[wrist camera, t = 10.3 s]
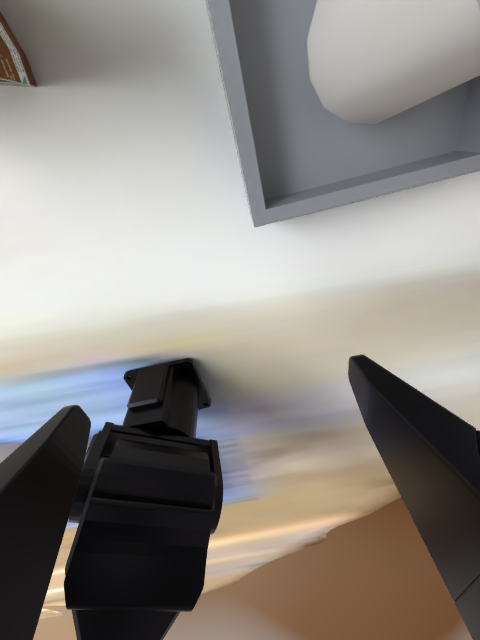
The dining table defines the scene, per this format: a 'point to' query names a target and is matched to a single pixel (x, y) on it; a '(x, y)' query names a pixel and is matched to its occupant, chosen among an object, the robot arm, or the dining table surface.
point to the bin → (324, 121)
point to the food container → (13, 59)
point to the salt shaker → (390, 53)
